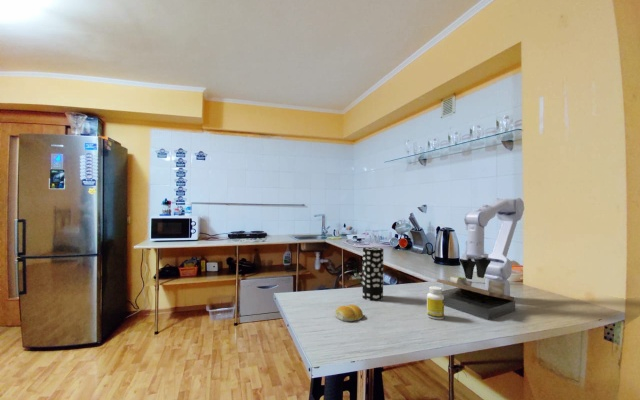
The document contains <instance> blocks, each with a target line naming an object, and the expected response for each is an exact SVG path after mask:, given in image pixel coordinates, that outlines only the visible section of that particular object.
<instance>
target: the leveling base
mask: <svg viewBox="0 0 640 400" xmlns="http://www.w3.org/2000/svg"><path fill="white" fill-rule="evenodd" d="M441 294H442V295H443V296H444V307H446V308H447V307H448V308H449V309H454V310H457V311H460V312H462V313H466V314H469V315H471V316H474V317H478V318H480V319H483V320H485V321H491V320H493V319H497V318H499V317H502V316H505V315H509V314H511V313H514V312H516V300H509V299H504V298H499V297H494V296H489V295H485V294H481V293H477V292H473V291H470V290H466V289H462V288H458V287H455V288H450V289H444V290H442V293H441Z"/></svg>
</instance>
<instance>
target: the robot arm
mask: <svg viewBox="0 0 640 400" xmlns="http://www.w3.org/2000/svg"><path fill="white" fill-rule="evenodd" d="M523 200H524V199H523ZM523 200H522V198H521V197H518V198H515V197H514V198H496V199H494V200H493V202H492V203H491V204H490V205H489V204H482V205H481V207H479V208H476V209H475V210H474V211H468V212H467V213H466V214H465V216H464V218H463V219H464V221H463V222H464V224H465V229H466V231H467V234H466V235H467V236H466V238H467V241H466V243H467V244H466V252H465V253H461V256H460V257H461V258H459V262H460V264H461V267H462V269H463V272H464V278H466V280H473V277H474V271H475V270H476V277H477V278H479V279H484V281H485V282H484V286H485V287H484V290H488V286H489V280H491V281H496V282H500V283H504V284H505V288H504V295H508V296H511V283H510V281H509V278H510V277H511V275H512V266H513V264H512V261H511V260H510V259H509V258H508V257H507V256H508V252H509V249H510V246H511V243H512V241H513V240H512V239H513V237H514V234H515V232H516V231H515V230H516V228H517V223H518V222H519V221H521V219H522V218H523V214H524V211H525V203H524V201H523ZM496 216H497V219H498V220H500V221H501V226H500V228H499V232H498V235H497V237H496V239H495V244H494V245H493V246H494V247H493V250H492V252H491V253H485V227H487V225H488V224H489V221H490V220H492V219H493V218H495V217H496ZM475 267H476V269H475Z"/></svg>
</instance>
